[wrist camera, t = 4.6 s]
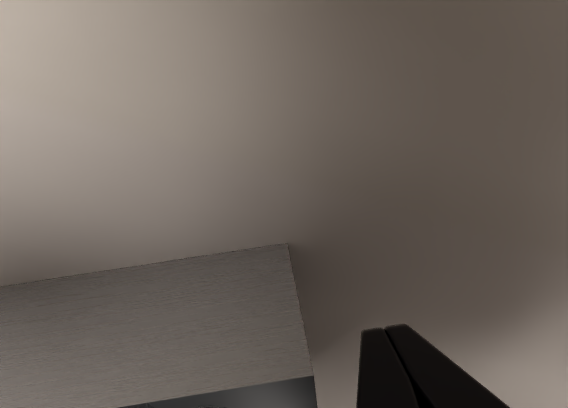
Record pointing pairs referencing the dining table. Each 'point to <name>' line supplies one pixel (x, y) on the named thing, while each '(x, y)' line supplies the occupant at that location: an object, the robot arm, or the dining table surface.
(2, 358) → the long grey bar
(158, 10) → the dining table surface
